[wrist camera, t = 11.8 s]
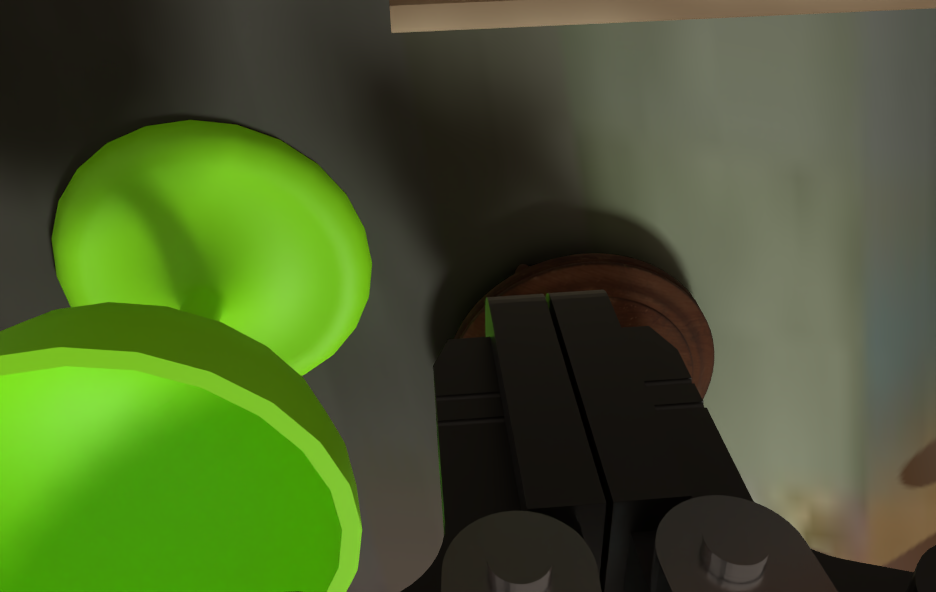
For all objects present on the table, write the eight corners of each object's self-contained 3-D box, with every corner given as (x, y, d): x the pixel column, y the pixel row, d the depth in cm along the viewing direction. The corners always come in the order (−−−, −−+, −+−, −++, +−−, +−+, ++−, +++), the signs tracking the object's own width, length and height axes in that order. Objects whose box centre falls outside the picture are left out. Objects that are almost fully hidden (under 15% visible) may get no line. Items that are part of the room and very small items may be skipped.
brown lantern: (417, 426, 49) (431, 763, 33) (489, 212, 42) (555, 504, 25) (640, 463, 53) (758, 788, 36) (743, 270, 45) (952, 565, 28)
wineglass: (429, 305, 45) (449, 577, 30) (197, 430, 48) (108, 731, 33) (242, 55, 37) (138, 252, 22) (-21, 225, 40) (-268, 499, 25)
